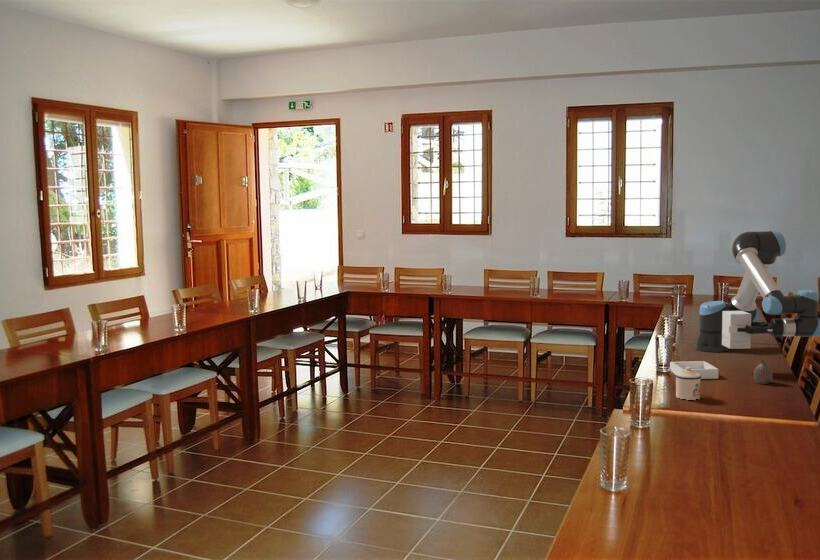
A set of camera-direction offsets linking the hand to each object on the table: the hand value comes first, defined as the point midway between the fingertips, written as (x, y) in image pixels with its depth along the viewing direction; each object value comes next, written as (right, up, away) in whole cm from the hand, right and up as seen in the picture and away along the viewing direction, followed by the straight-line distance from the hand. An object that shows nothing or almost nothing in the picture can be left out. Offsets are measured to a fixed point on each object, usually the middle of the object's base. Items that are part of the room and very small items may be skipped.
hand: (725, 327), depth 316 cm
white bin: (-14, -20, -1) cm, 25 cm away
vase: (+7, -22, -18) cm, 29 cm away
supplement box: (+4, -9, 0) cm, 10 cm away
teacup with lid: (-29, -25, -35) cm, 51 cm away
